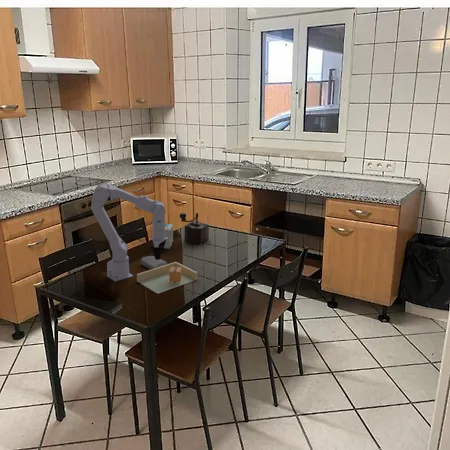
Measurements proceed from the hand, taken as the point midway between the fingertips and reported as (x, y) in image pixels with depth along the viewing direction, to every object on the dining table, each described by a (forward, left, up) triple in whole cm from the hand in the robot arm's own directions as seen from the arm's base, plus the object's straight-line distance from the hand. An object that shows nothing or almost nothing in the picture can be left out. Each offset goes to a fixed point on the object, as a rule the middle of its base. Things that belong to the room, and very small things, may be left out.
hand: (159, 256), depth 205 cm
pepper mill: (+41, +24, -10) cm, 48 cm away
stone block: (+4, +10, -10) cm, 14 cm away
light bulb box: (+26, +30, -10) cm, 40 cm away
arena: (-1, -8, -9) cm, 13 cm away
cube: (+2, -10, -9) cm, 13 cm away
